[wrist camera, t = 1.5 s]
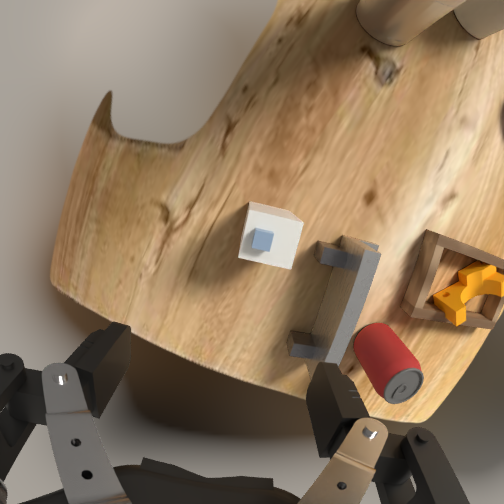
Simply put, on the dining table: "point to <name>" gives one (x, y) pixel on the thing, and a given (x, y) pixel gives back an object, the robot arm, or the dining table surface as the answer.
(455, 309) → the pipe clamp
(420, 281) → the parts corral
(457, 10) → the travel mug
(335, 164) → the dining table surface
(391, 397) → the beer can
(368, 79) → the dining table surface
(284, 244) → the white rectangular block
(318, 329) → the rail
